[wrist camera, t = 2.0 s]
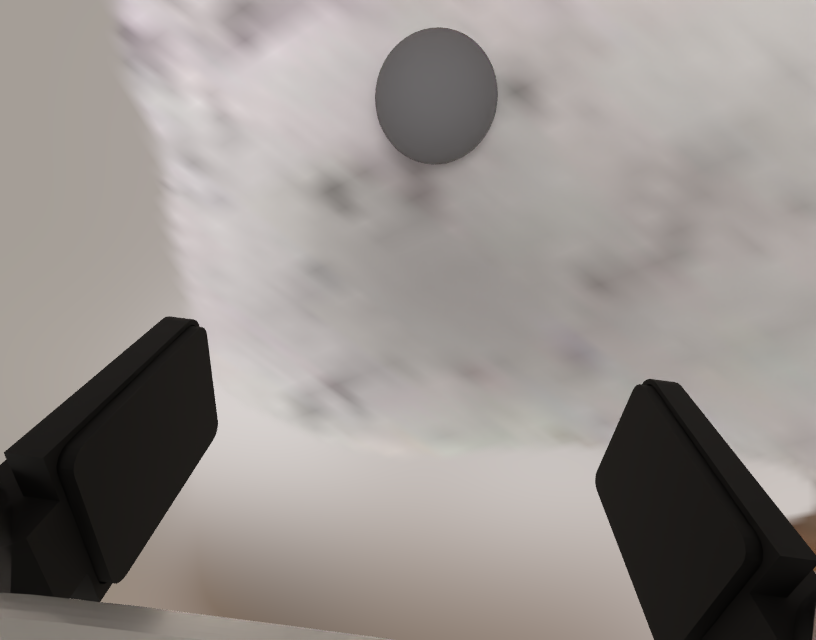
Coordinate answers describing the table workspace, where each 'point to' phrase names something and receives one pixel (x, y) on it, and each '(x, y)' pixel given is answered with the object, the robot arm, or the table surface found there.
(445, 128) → the grey ball
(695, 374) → the table surface
